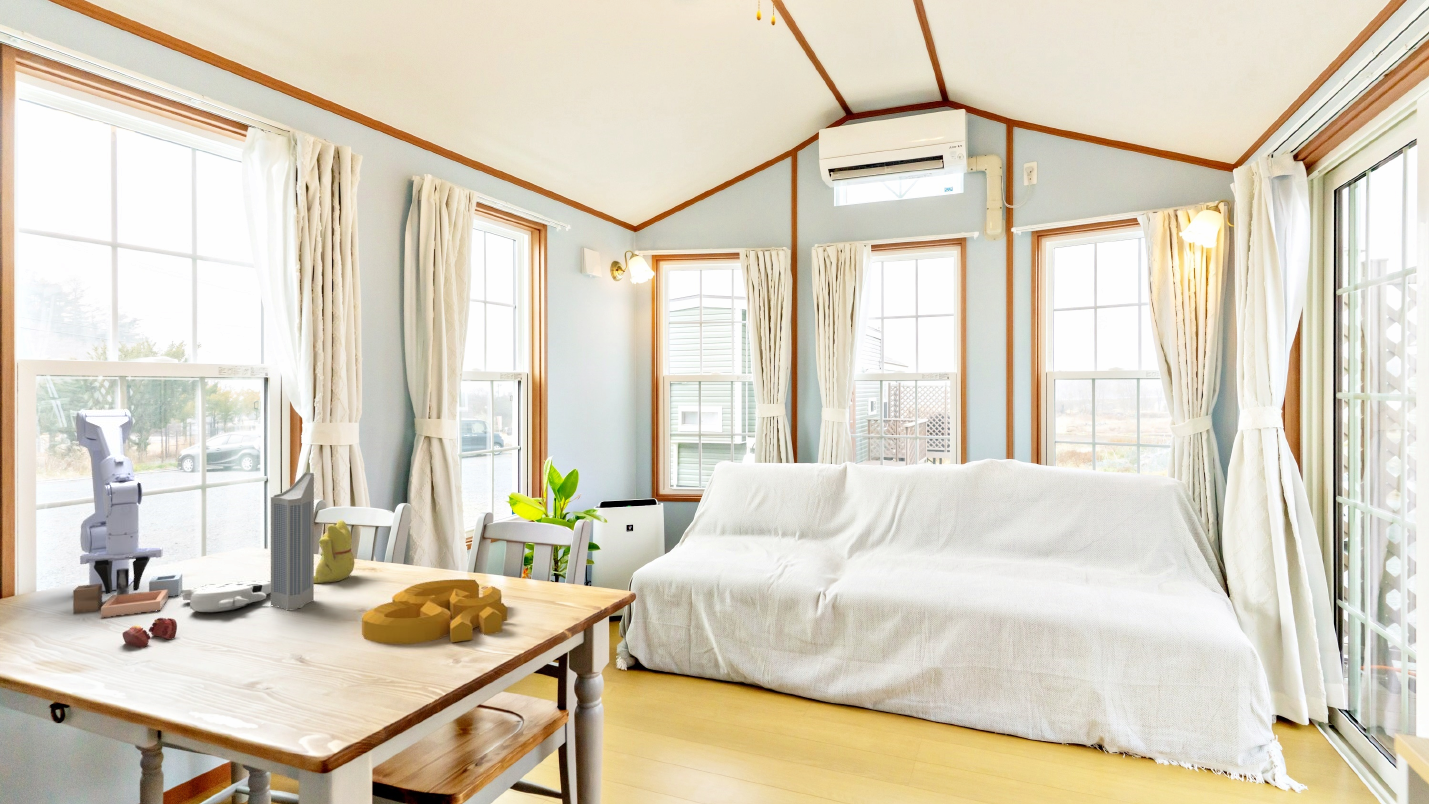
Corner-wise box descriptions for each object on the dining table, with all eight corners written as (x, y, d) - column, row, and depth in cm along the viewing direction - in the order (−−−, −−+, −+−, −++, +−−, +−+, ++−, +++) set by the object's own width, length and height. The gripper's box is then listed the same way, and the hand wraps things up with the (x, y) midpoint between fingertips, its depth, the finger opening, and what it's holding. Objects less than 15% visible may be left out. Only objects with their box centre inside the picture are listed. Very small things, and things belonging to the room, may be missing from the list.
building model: (320, 599, 163) (320, 472, 162) (295, 610, 155) (296, 476, 154) (287, 598, 164) (287, 471, 163) (261, 609, 156) (261, 476, 155)
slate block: (153, 592, 167) (153, 576, 166) (182, 589, 169) (182, 573, 169) (149, 599, 162) (149, 582, 162) (178, 595, 165) (178, 579, 164)
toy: (143, 618, 148) (236, 615, 148) (144, 595, 149) (237, 592, 149) (217, 601, 170) (298, 598, 170) (218, 581, 170) (299, 578, 170)
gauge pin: (117, 598, 162) (117, 568, 162) (129, 597, 163) (129, 567, 163) (115, 601, 160) (115, 570, 160) (127, 599, 161) (127, 569, 161)
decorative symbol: (425, 575, 167) (541, 584, 161) (425, 596, 167) (541, 606, 162) (335, 614, 138) (472, 626, 132) (335, 639, 138) (472, 653, 132)
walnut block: (78, 608, 155) (78, 585, 155) (102, 605, 157) (102, 583, 157) (73, 613, 151) (73, 590, 151) (97, 610, 154) (97, 587, 153)
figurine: (327, 574, 185) (327, 518, 184) (360, 574, 185) (361, 518, 185) (304, 586, 174) (304, 526, 173) (340, 586, 174) (340, 527, 174)
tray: (112, 605, 157) (112, 595, 157) (168, 598, 162) (168, 589, 162) (101, 617, 148) (101, 607, 148) (160, 610, 154) (160, 600, 154)
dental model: (118, 624, 133) (165, 612, 141) (117, 645, 133) (164, 633, 141) (134, 629, 131) (181, 617, 138) (133, 651, 131) (180, 638, 138)
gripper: (76, 539, 154) (76, 599, 154) (158, 533, 161) (158, 591, 162) (84, 533, 160) (85, 591, 160) (164, 527, 168) (164, 583, 168)
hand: (122, 590), depth 161 cm, fingers open, 4 cm apart
